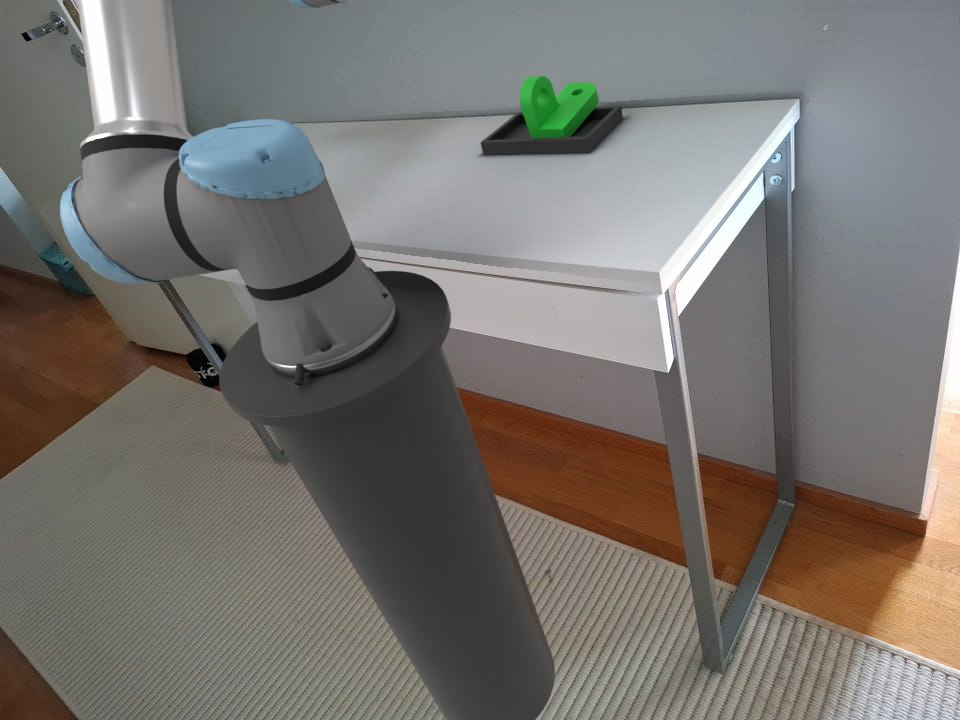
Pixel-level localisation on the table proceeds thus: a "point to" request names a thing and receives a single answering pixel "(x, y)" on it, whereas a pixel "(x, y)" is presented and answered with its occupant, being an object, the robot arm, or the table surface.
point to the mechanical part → (555, 107)
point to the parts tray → (583, 140)
